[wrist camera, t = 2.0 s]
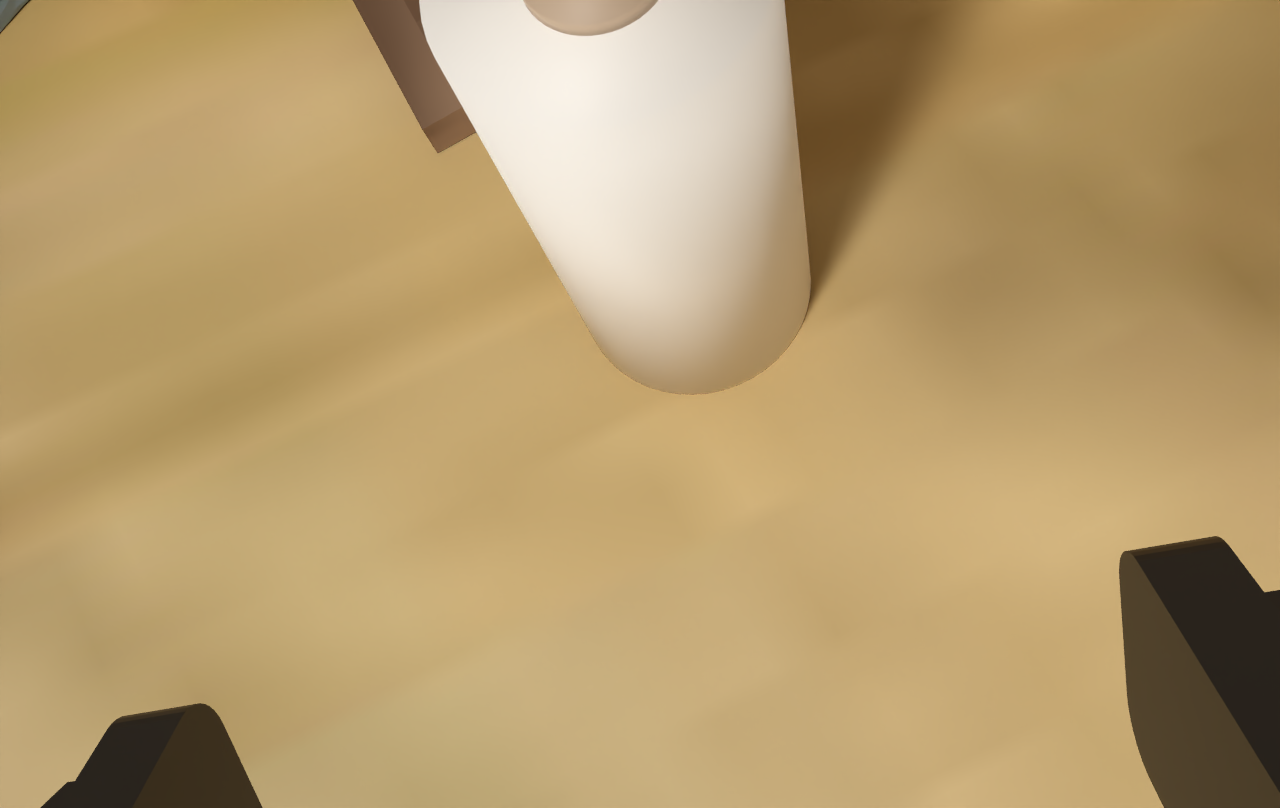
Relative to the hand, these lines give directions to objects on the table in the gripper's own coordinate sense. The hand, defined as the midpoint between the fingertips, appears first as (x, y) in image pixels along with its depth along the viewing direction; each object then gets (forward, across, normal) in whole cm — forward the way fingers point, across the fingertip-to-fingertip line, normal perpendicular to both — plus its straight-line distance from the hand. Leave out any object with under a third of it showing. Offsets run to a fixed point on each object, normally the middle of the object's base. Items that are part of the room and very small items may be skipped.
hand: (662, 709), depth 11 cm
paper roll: (+20, 0, +3) cm, 20 cm away
